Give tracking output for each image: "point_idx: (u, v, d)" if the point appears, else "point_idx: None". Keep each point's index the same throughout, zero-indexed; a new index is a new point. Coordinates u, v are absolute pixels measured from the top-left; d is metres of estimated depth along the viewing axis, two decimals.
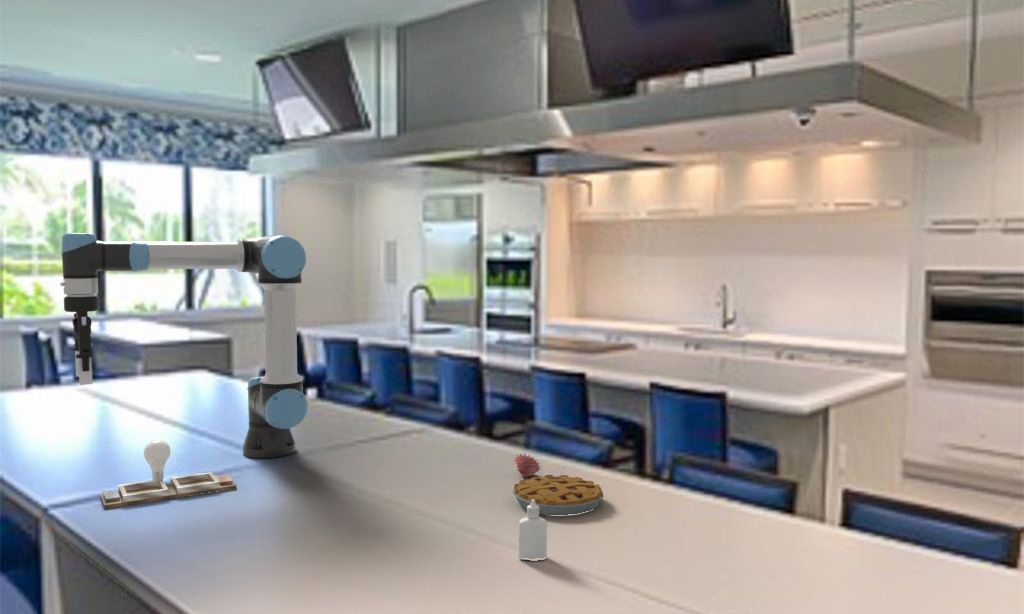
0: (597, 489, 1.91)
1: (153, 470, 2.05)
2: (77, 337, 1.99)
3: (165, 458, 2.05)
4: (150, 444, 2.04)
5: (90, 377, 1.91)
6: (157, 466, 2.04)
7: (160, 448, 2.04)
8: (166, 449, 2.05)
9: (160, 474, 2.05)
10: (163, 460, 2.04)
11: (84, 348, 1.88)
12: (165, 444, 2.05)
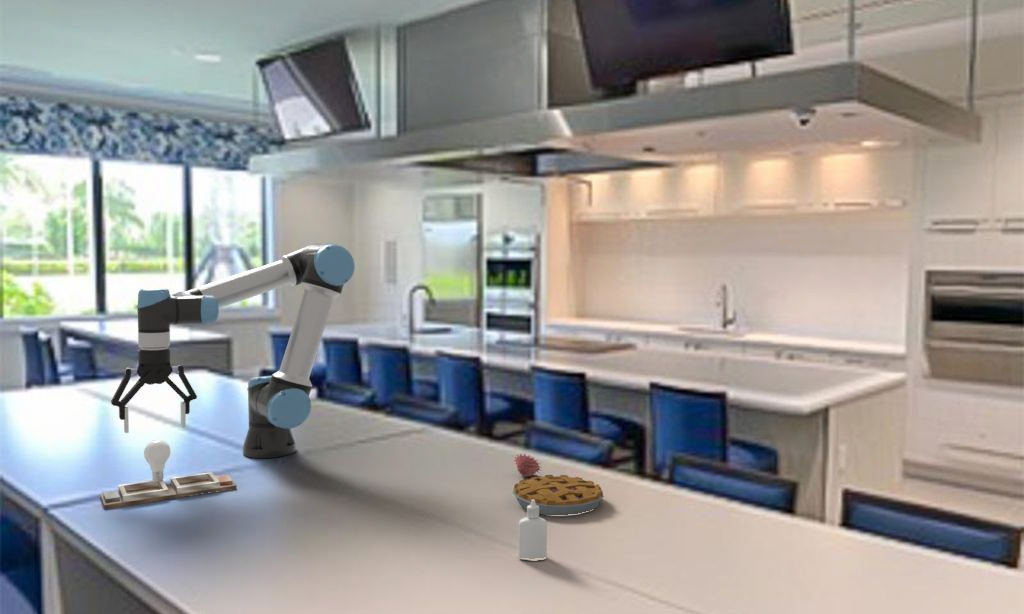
0: (597, 489, 1.91)
1: (153, 470, 2.05)
2: None
3: (165, 458, 2.05)
4: (150, 444, 2.04)
5: (125, 426, 2.00)
6: (157, 466, 2.04)
7: (160, 448, 2.04)
8: (166, 449, 2.05)
9: (160, 474, 2.05)
10: (163, 460, 2.04)
11: (113, 397, 2.00)
12: (165, 444, 2.05)
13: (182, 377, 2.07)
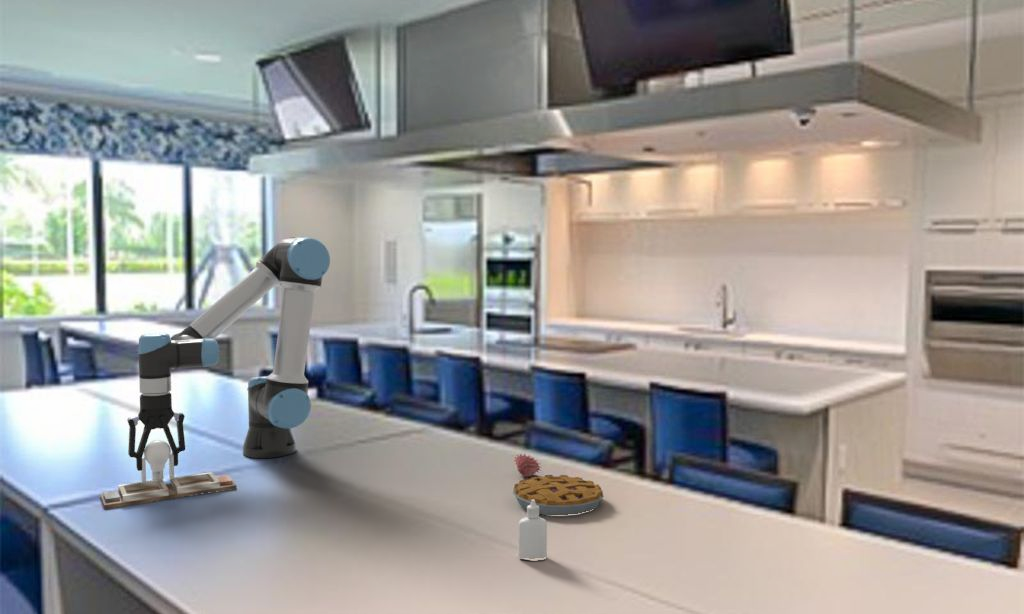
0: (597, 489, 1.91)
1: (153, 470, 2.05)
2: None
3: (165, 458, 2.05)
4: (150, 444, 2.04)
5: (142, 477, 2.03)
6: (157, 466, 2.04)
7: (161, 448, 2.04)
8: (166, 449, 2.05)
9: (160, 474, 2.05)
10: (163, 460, 2.04)
11: (128, 449, 2.02)
12: (165, 444, 2.05)
13: (179, 426, 2.07)
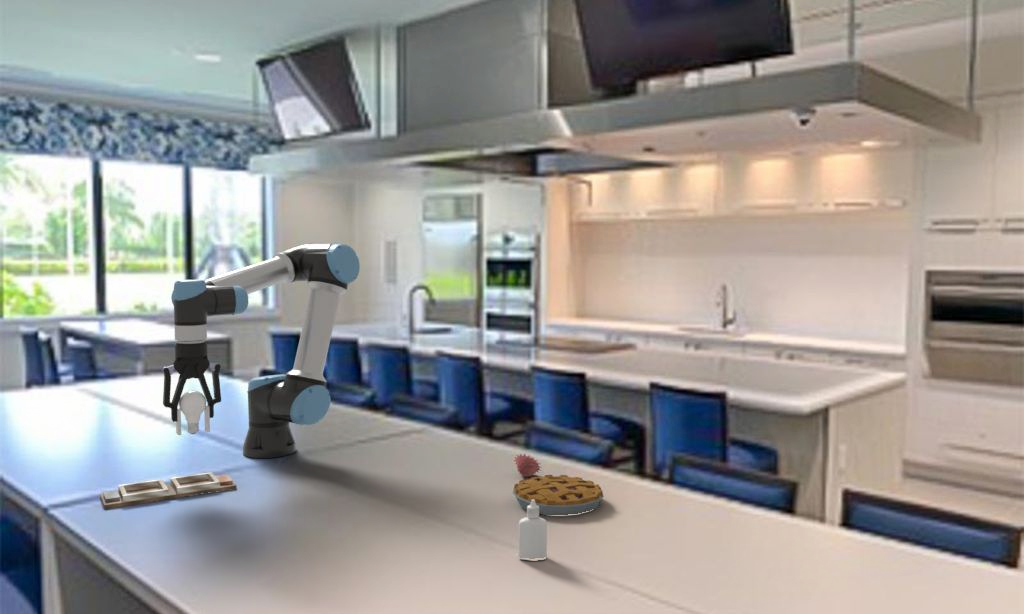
0: (597, 489, 1.91)
1: (188, 421, 1.97)
2: (201, 386, 2.00)
3: (201, 409, 1.97)
4: (186, 394, 1.97)
5: (177, 428, 1.96)
6: (193, 417, 1.97)
7: (196, 398, 1.96)
8: (202, 399, 1.97)
9: (195, 426, 1.98)
10: (199, 411, 1.97)
11: (163, 399, 1.95)
12: (201, 395, 1.98)
13: (215, 376, 2.00)
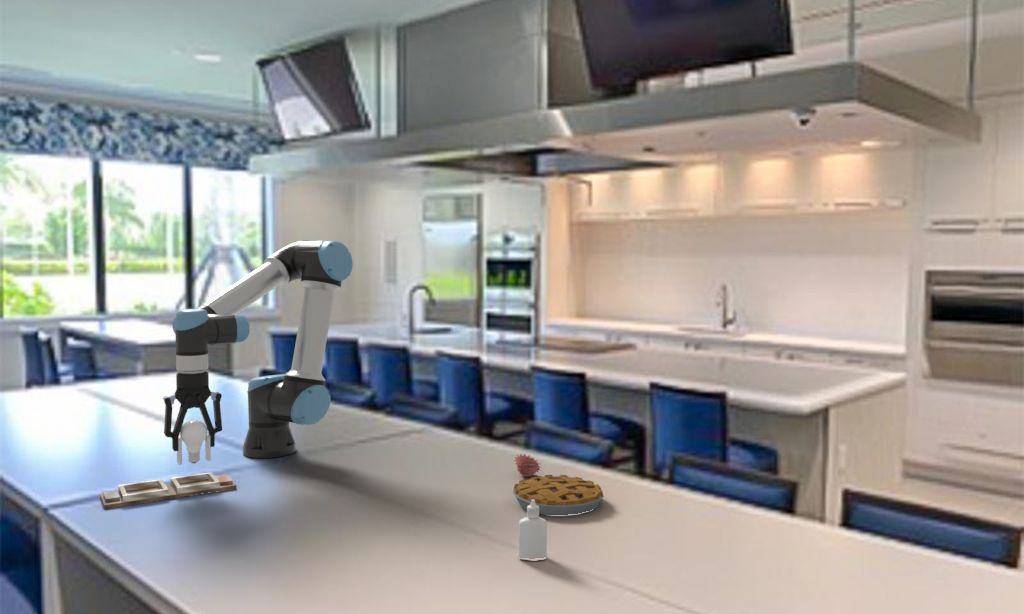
0: (597, 489, 1.91)
1: (189, 451, 1.98)
2: (202, 415, 2.00)
3: (202, 438, 1.98)
4: (187, 424, 1.97)
5: (178, 458, 1.96)
6: (194, 447, 1.97)
7: (197, 428, 1.97)
8: (203, 429, 1.98)
9: (196, 455, 1.98)
10: (200, 440, 1.97)
11: (164, 429, 1.95)
12: (202, 424, 1.98)
13: (216, 405, 2.00)
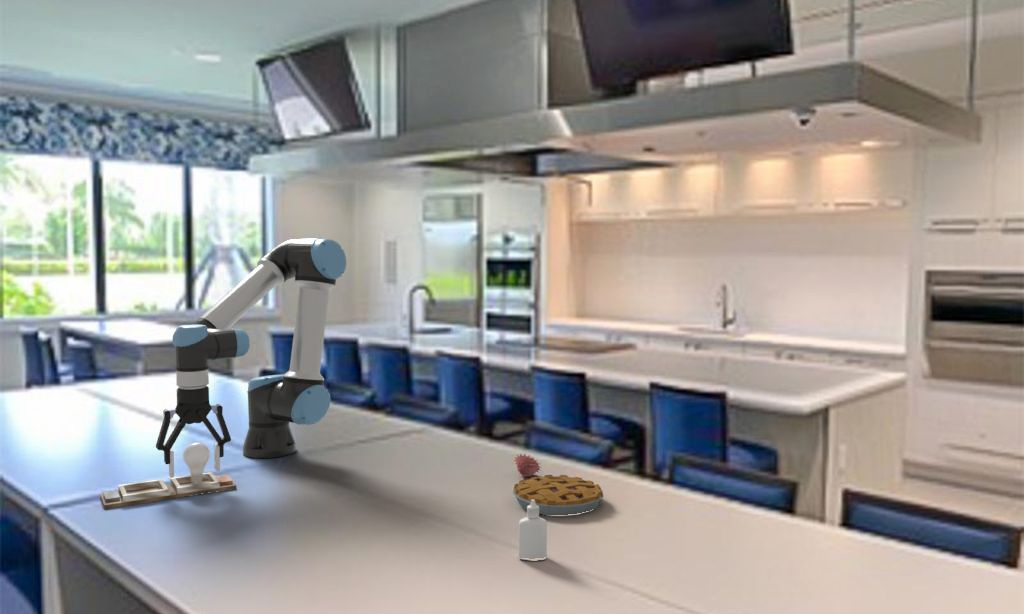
0: (597, 489, 1.91)
1: (192, 473, 1.99)
2: None
3: (205, 461, 1.99)
4: (190, 446, 1.98)
5: (170, 471, 1.96)
6: (196, 469, 1.98)
7: (200, 451, 1.98)
8: (206, 451, 1.99)
9: (199, 477, 1.99)
10: (202, 463, 1.98)
11: (157, 441, 1.95)
12: (205, 447, 1.99)
13: (220, 417, 2.01)
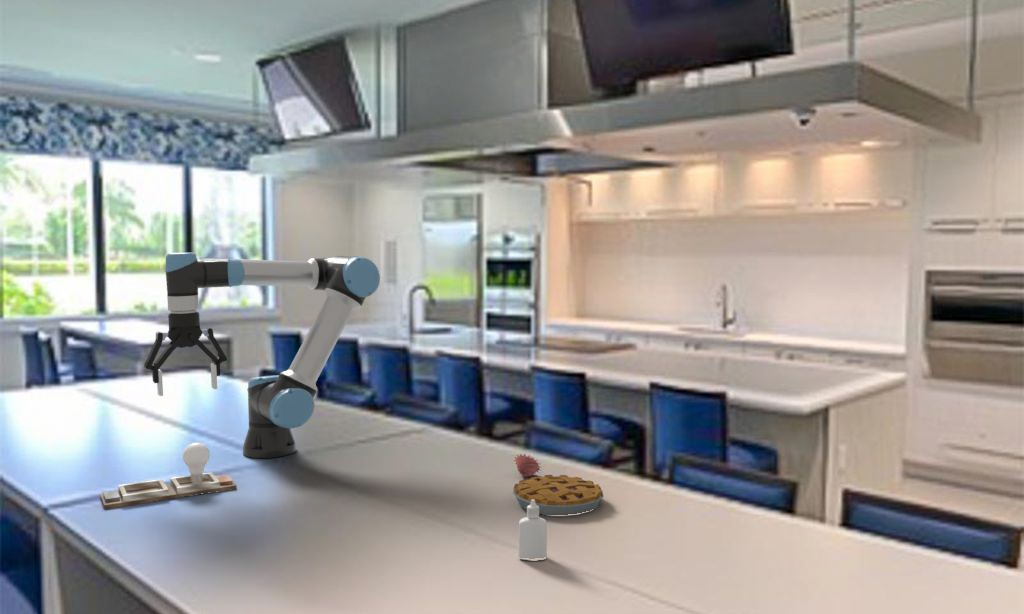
0: (597, 489, 1.91)
1: (192, 473, 1.99)
2: (201, 350, 2.10)
3: (204, 461, 1.99)
4: (189, 447, 1.98)
5: (159, 389, 2.03)
6: (196, 469, 1.98)
7: (200, 451, 1.97)
8: (205, 451, 1.99)
9: (199, 478, 1.99)
10: (202, 463, 1.98)
11: (146, 361, 2.02)
12: (204, 447, 1.99)
13: (212, 339, 2.10)
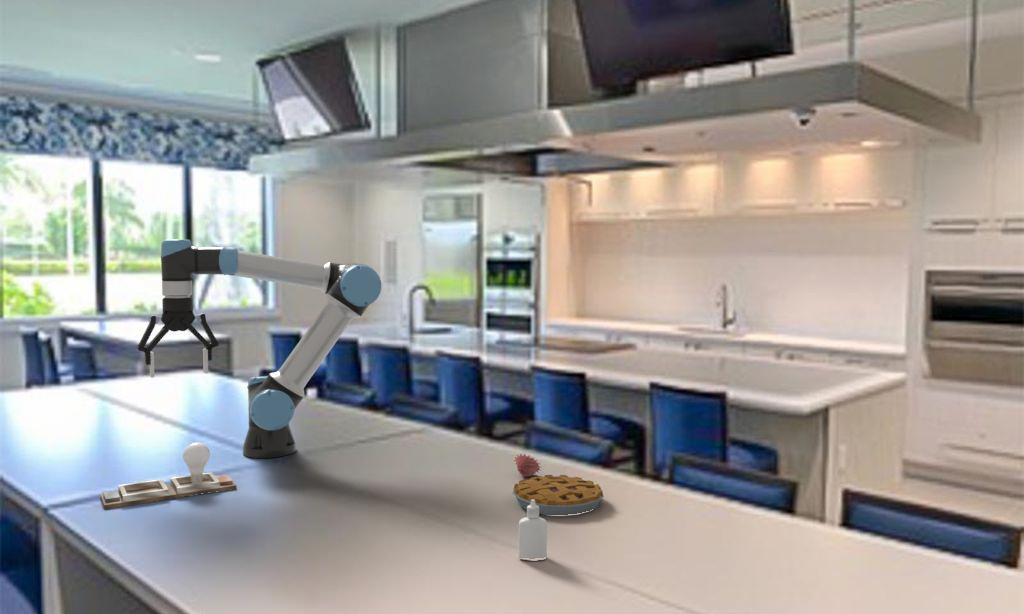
0: (597, 489, 1.91)
1: (192, 473, 1.99)
2: (194, 335, 2.16)
3: (205, 461, 1.99)
4: (189, 446, 1.98)
5: (151, 371, 2.09)
6: (196, 469, 1.98)
7: (200, 451, 1.98)
8: (206, 451, 1.99)
9: (199, 477, 1.99)
10: (202, 463, 1.98)
11: (139, 343, 2.08)
12: (205, 446, 1.99)
13: (204, 325, 2.15)
